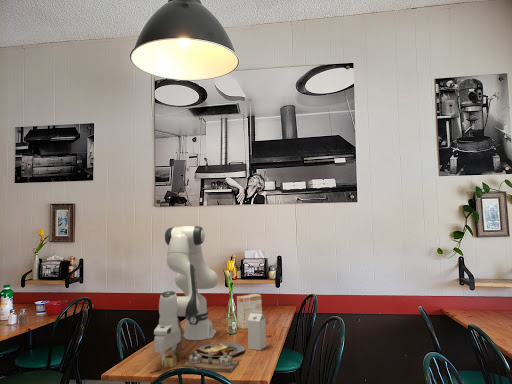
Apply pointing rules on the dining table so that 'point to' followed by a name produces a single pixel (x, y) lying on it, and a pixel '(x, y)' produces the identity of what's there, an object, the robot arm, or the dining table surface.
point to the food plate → (219, 349)
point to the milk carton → (256, 331)
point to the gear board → (213, 366)
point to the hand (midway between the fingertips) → (168, 356)
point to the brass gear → (169, 361)
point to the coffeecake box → (247, 308)
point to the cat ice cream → (179, 342)
